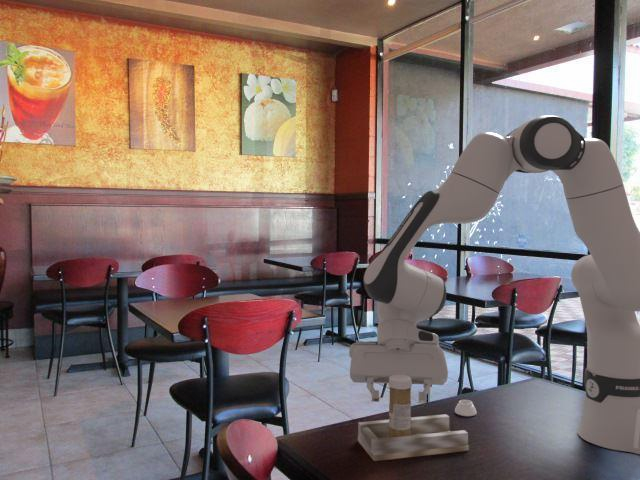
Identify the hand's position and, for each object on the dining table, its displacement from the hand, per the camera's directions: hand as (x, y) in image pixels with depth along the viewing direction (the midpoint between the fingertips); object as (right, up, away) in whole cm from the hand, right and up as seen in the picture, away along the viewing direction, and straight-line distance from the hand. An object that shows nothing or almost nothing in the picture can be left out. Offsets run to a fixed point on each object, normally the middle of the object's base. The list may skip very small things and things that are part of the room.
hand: (398, 401), depth 113 cm
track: (+3, -10, +2) cm, 10 cm away
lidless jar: (+19, -9, +21) cm, 30 cm away
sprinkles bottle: (0, -9, +1) cm, 9 cm away
